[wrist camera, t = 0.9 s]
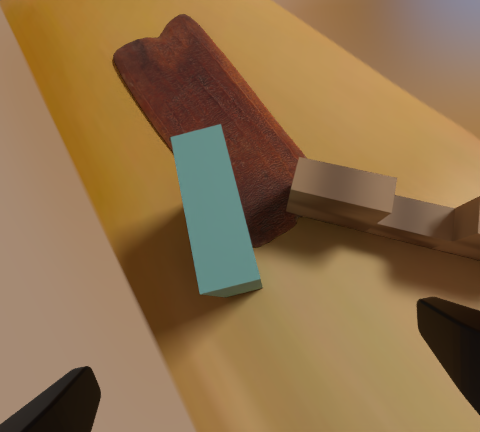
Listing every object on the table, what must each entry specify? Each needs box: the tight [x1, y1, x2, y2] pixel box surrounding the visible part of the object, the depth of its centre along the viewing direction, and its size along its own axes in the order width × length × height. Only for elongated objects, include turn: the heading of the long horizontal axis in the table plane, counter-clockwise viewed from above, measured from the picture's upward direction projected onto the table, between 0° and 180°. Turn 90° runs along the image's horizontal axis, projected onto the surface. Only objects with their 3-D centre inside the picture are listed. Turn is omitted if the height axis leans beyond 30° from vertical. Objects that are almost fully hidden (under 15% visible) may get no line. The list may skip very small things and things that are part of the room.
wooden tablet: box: [113, 14, 307, 247], centre depth 27 cm, size 27×10×2 cm, turn 33°
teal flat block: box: [171, 124, 262, 297], centre depth 19 cm, size 9×3×9 cm, turn 13°
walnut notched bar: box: [286, 157, 480, 260], centre depth 20 cm, size 18×2×5 cm, turn 74°
